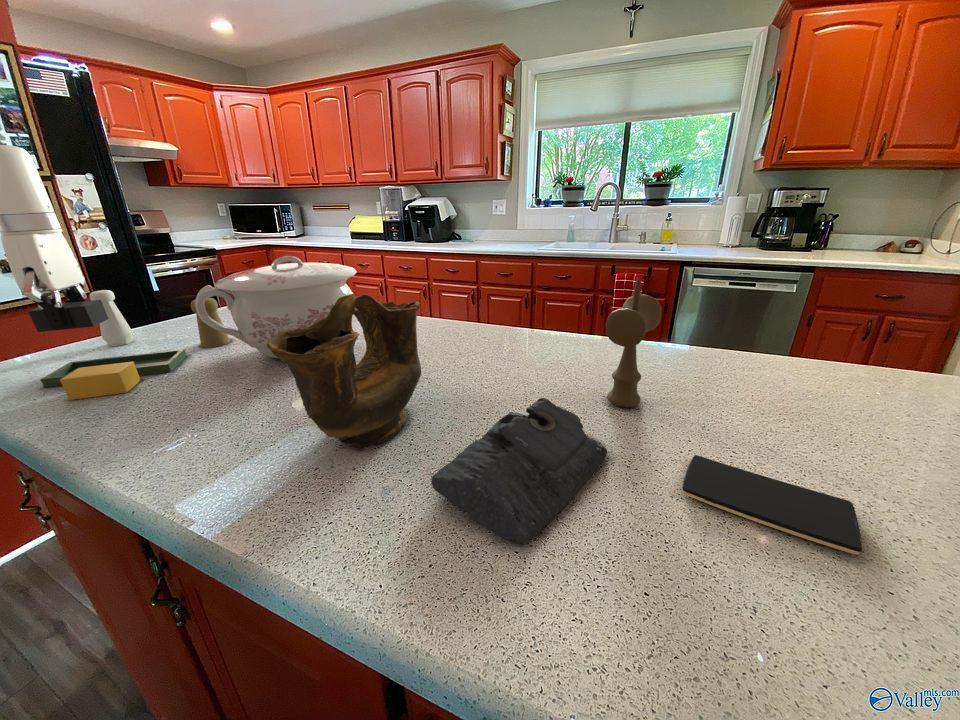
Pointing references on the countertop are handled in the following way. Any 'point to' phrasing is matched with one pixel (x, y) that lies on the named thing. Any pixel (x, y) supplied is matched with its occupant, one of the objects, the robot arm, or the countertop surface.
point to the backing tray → (143, 362)
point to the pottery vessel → (355, 368)
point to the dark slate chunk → (521, 471)
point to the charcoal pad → (73, 315)
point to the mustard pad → (100, 380)
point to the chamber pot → (276, 299)
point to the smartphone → (775, 503)
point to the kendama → (630, 343)
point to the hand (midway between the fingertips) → (73, 322)
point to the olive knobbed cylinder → (207, 333)
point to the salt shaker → (112, 320)
